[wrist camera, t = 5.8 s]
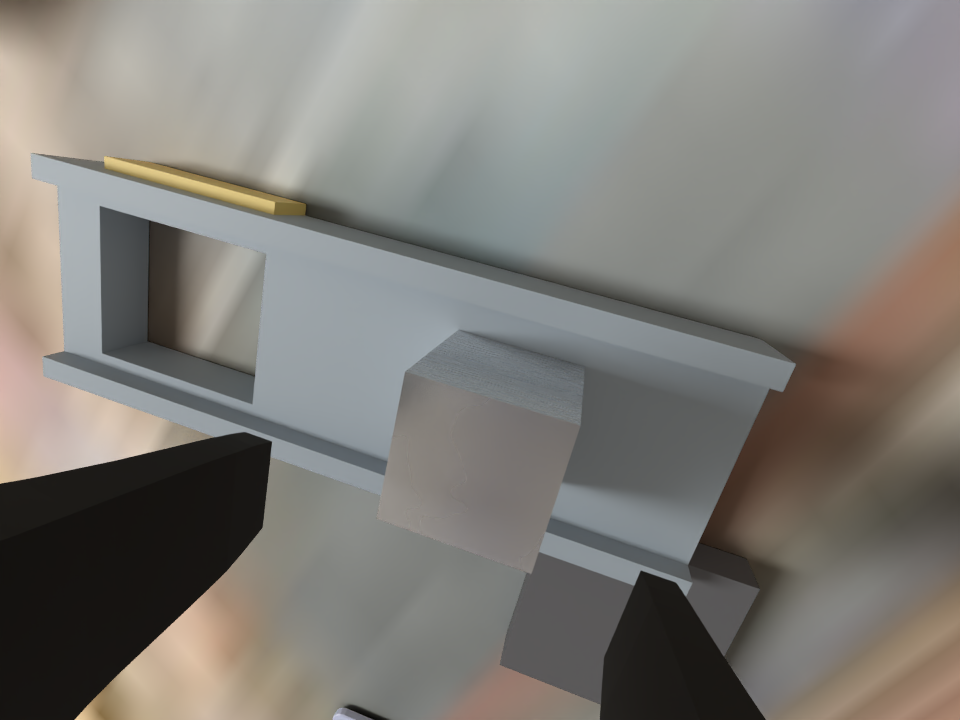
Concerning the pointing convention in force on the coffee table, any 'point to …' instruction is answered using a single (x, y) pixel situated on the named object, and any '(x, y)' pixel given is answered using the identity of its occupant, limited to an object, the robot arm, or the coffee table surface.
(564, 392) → the block
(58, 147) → the coffee table surface
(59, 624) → the robot arm
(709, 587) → the pad
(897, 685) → the coffee table surface
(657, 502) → the rail
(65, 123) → the coffee table surface
